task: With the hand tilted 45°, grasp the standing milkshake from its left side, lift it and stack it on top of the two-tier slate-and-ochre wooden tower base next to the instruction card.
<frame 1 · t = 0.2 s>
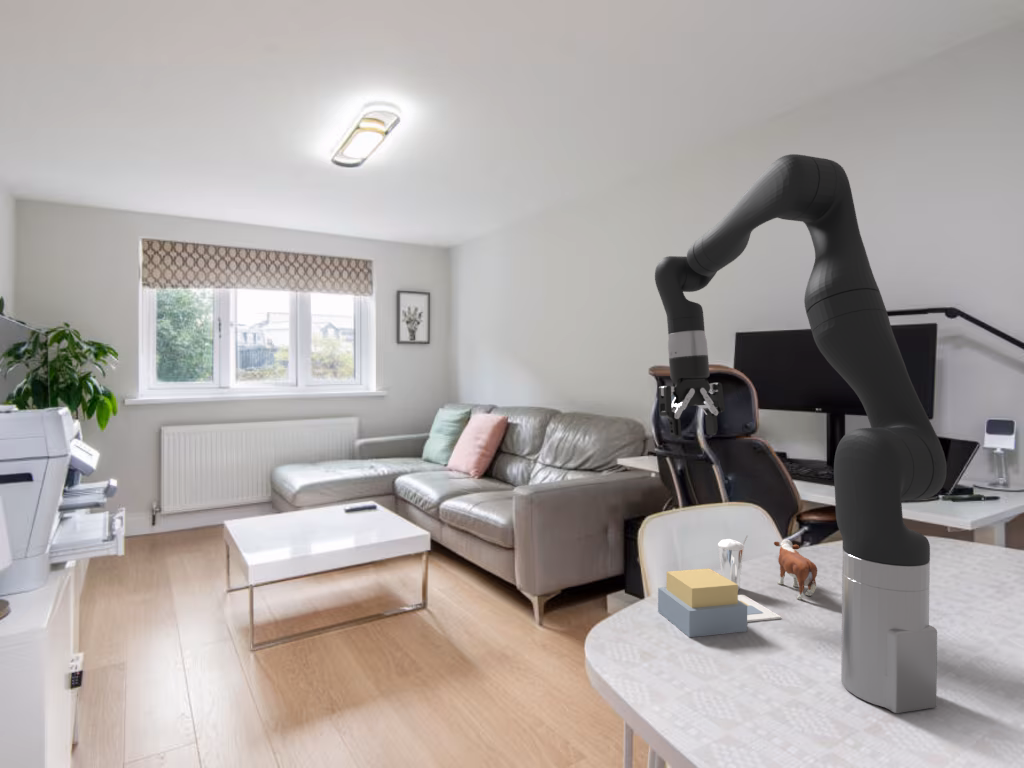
hand: (694, 436, 114), 28 cm above the table, tool pointing down, fingers open, 8 cm apart
bull figurine: (794, 590, 108), on the table
milkshake: (732, 589, 108), on the table
tower base: (700, 620, 93), on the table
instruction card: (743, 608, 98), on the table
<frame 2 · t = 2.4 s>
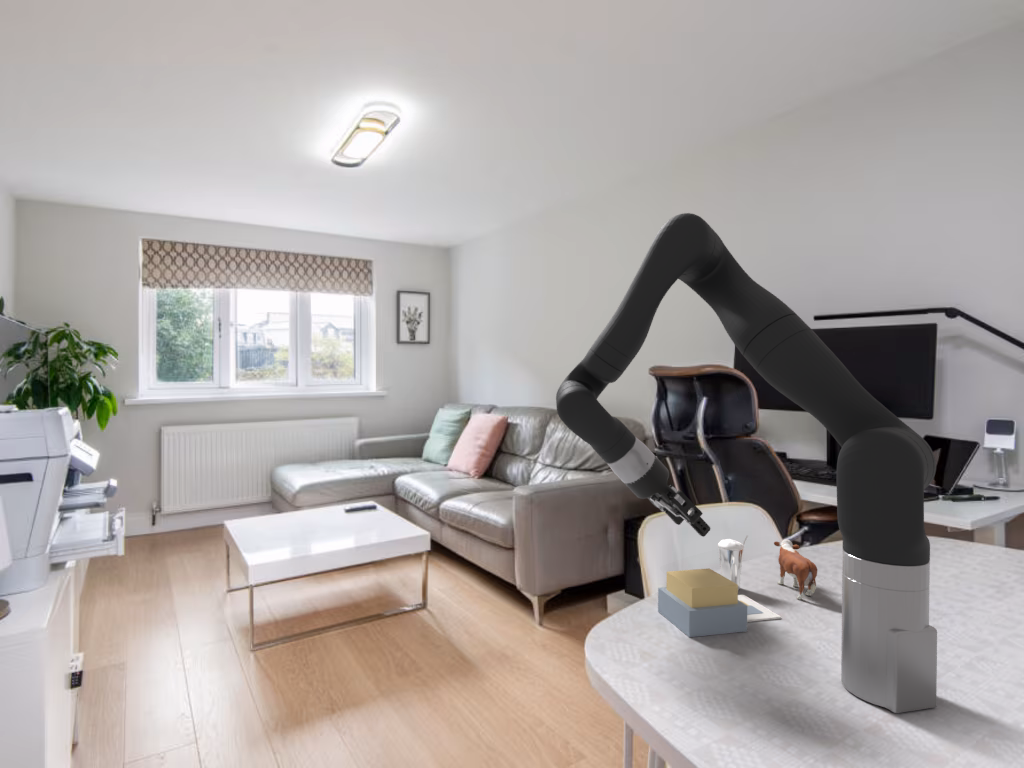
hand: (693, 526, 106), 12 cm above the table, tool tilted 45°, fingers open, 8 cm apart
nothing on the table moved.
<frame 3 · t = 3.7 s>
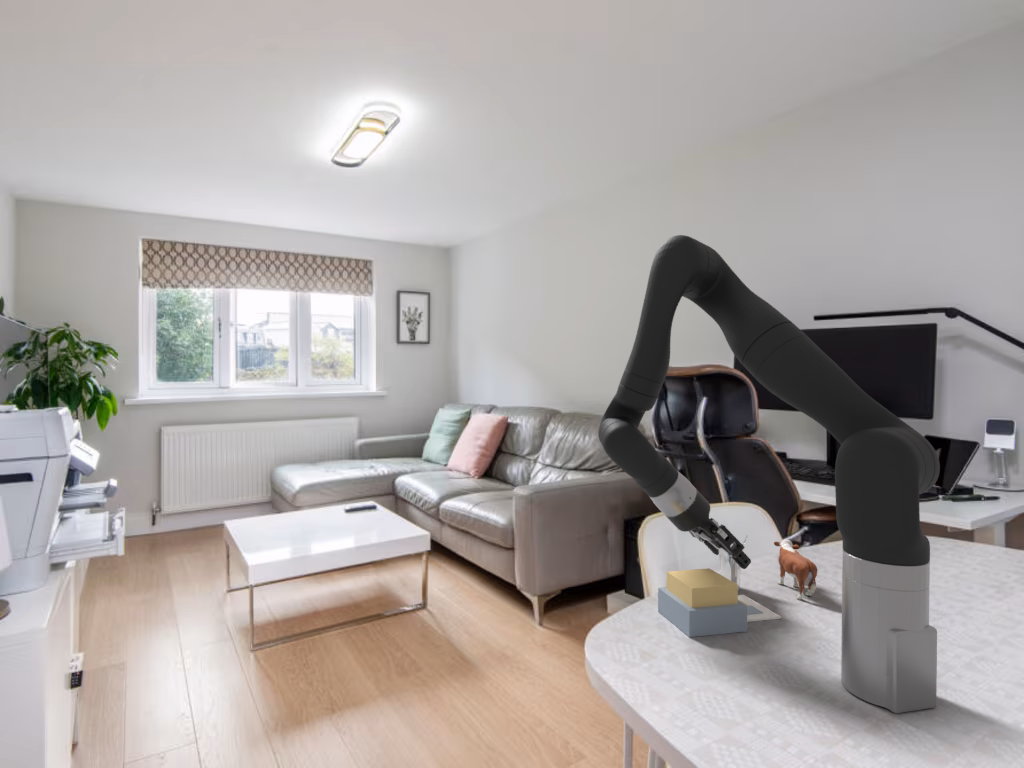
hand: (732, 557, 108), 6 cm above the table, tool tilted 45°, fingers open, 8 cm apart
nothing on the table moved.
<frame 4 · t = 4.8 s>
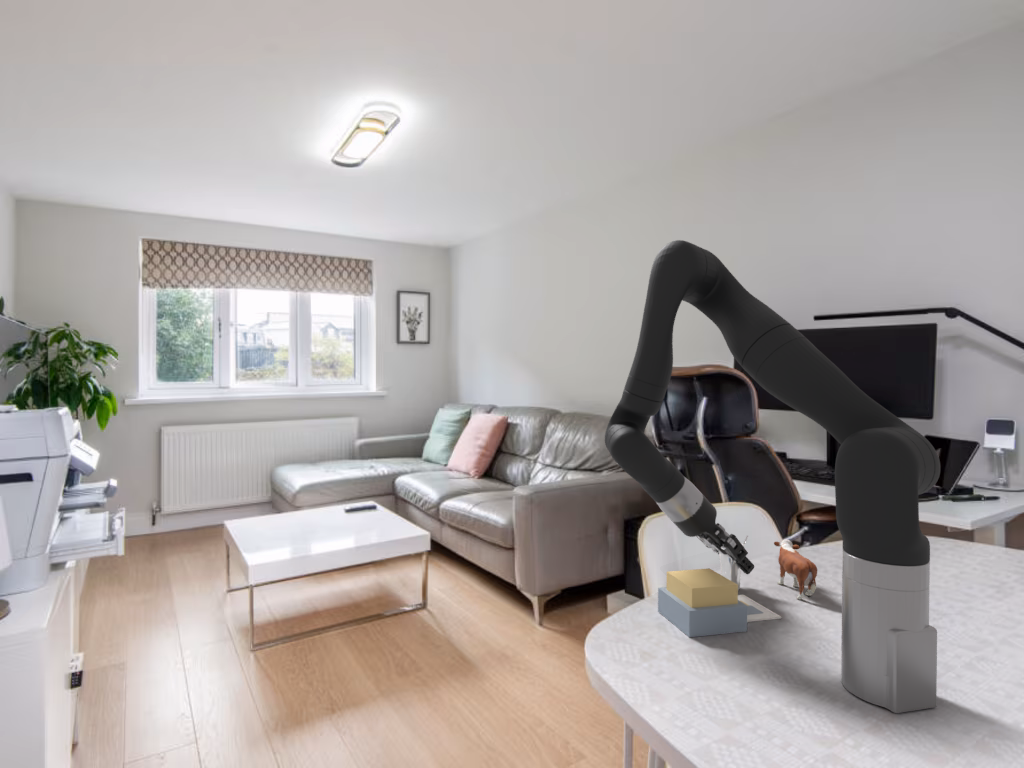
hand: (741, 565, 109), 4 cm above the table, tool tilted 45°, fingers closed on milkshake, 4 cm apart
milkshake: (732, 589, 108), on the table, touching gripper
everything else where it was.
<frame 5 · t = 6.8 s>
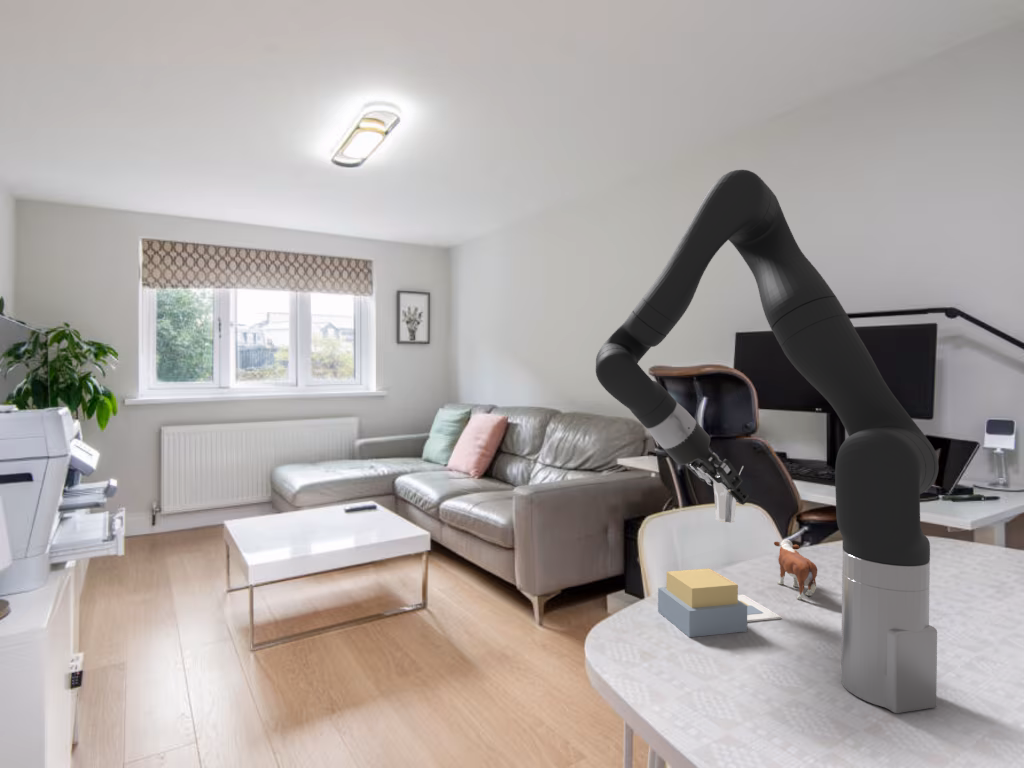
hand: (736, 497, 104), 18 cm above the table, tool tilted 45°, fingers closed on milkshake, 4 cm apart
milkshake: (727, 521, 104), point 14 cm above the table, touching gripper
everything else where it was.
when the fingers open (12 cm above the table, at t = 9.0 s): milkshake drops 1 cm, resting on tower base.
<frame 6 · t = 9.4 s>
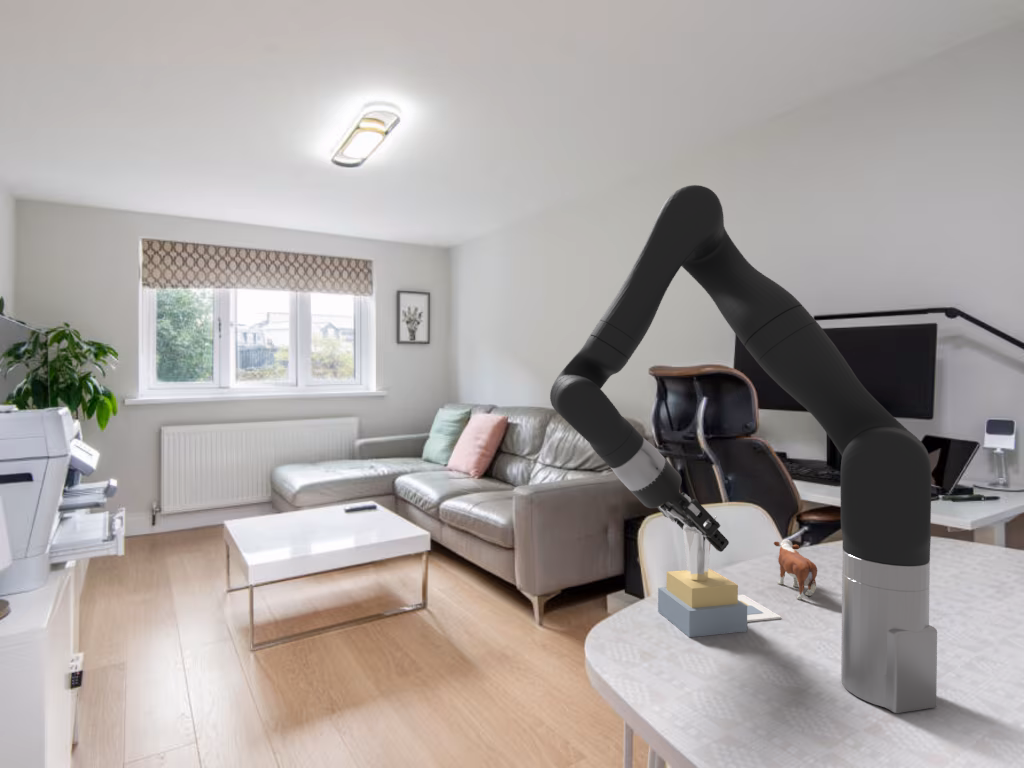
hand: (709, 539, 93), 13 cm above the table, tool tilted 45°, fingers open, 8 cm apart
milkshake: (700, 578, 93), point 7 cm above the table, touching tower base
everything else where it was.
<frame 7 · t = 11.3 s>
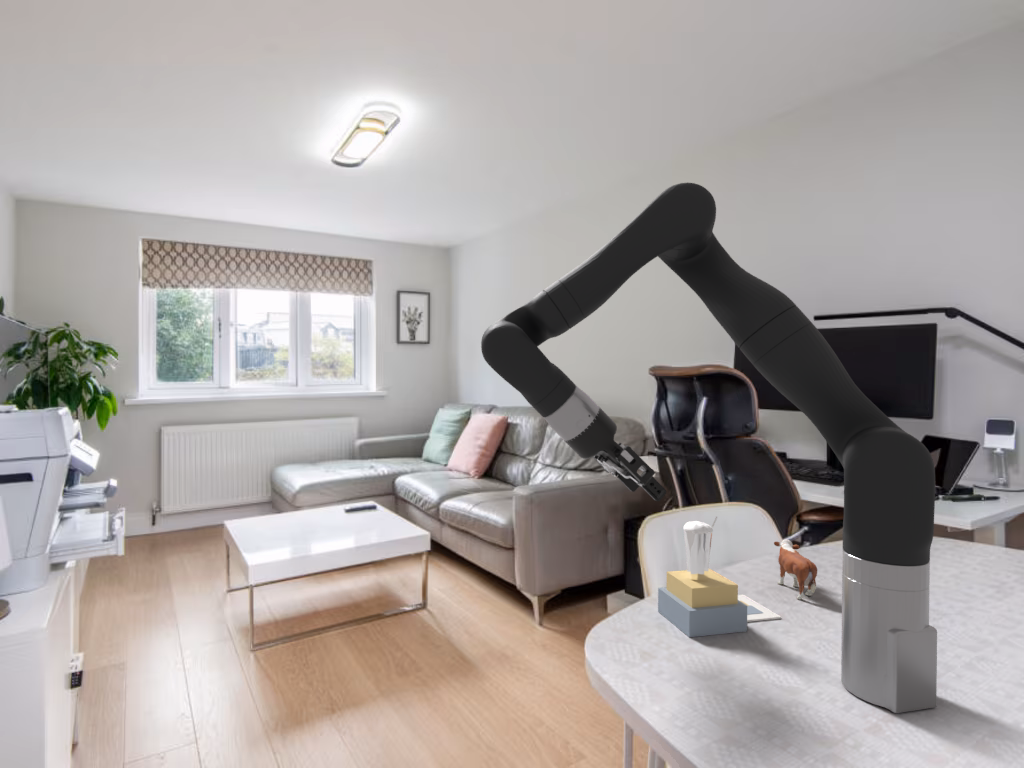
hand: (648, 491, 91), 21 cm above the table, tool tilted 45°, fingers open, 8 cm apart
nothing on the table moved.
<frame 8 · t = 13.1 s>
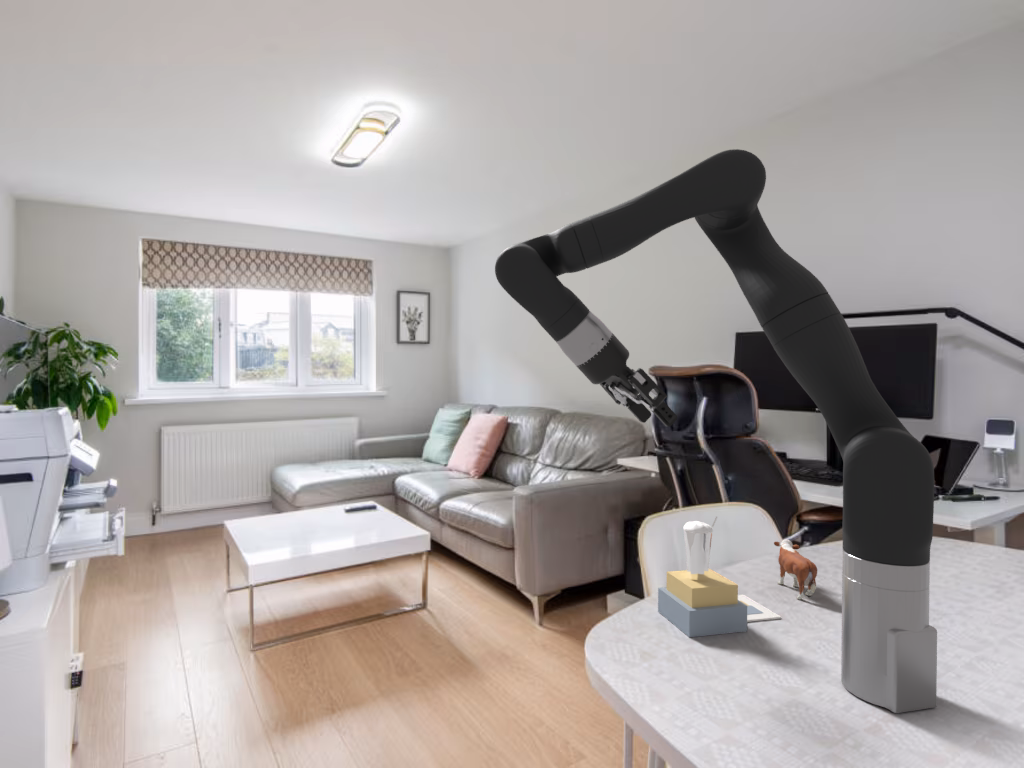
hand: (659, 420, 91), 33 cm above the table, tool tilted 45°, fingers open, 8 cm apart
nothing on the table moved.
at the end: milkshake inside the target area on the tower base (0.2 cm from its centre), point 6.8 cm above the tower base's base; milkshake touching tower base; the gripper is holding nothing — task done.
